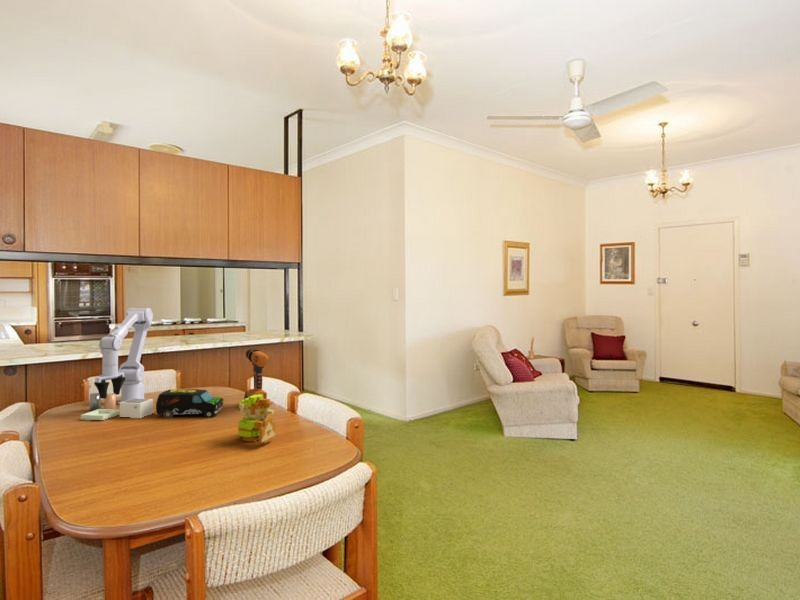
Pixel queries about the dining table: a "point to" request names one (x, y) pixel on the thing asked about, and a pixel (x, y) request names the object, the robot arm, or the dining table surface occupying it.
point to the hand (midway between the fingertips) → (110, 396)
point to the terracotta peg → (110, 401)
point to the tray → (100, 414)
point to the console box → (136, 408)
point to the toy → (256, 419)
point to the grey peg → (95, 401)
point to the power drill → (257, 371)
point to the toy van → (188, 403)
